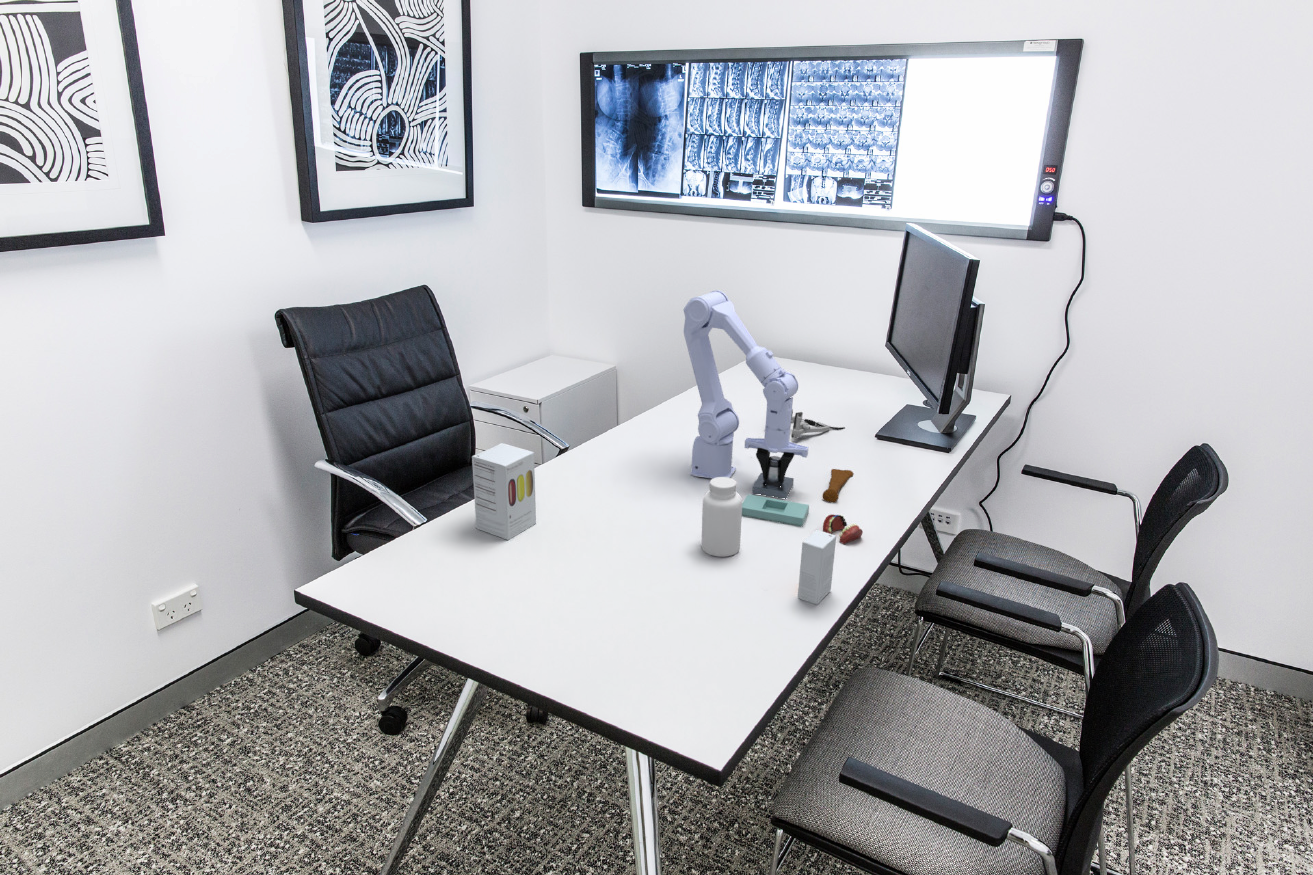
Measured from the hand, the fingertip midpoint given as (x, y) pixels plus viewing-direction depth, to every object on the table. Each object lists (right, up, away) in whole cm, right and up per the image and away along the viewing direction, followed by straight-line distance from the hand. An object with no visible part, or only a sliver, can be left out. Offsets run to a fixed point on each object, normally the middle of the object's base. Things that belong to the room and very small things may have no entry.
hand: (773, 479), depth 198 cm
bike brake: (+13, +12, +37) cm, 41 cm away
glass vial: (0, -2, +1) cm, 3 cm away
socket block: (0, -2, +1) cm, 3 cm away
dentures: (+12, -11, -19) cm, 25 cm away
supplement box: (-59, -9, -18) cm, 63 cm away
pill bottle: (-14, -13, -25) cm, 31 cm away
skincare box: (+2, -20, -40) cm, 45 cm away
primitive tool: (+15, -2, +4) cm, 16 cm away
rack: (-1, -7, -10) cm, 13 cm away
